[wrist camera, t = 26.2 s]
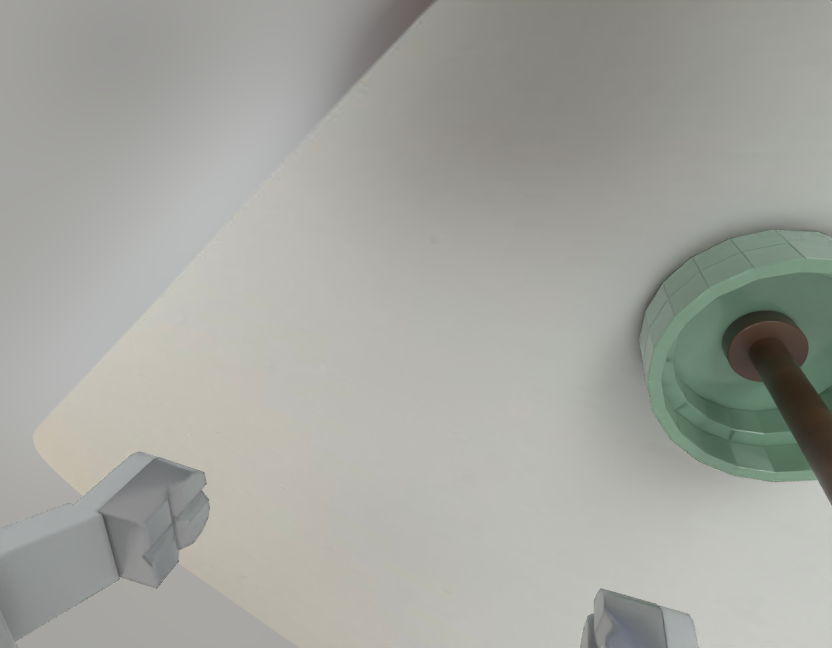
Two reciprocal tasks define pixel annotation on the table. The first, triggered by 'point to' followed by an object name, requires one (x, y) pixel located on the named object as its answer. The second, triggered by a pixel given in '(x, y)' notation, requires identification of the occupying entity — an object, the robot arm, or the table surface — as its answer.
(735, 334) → the muddler
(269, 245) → the table surface
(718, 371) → the bowl
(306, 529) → the table surface
